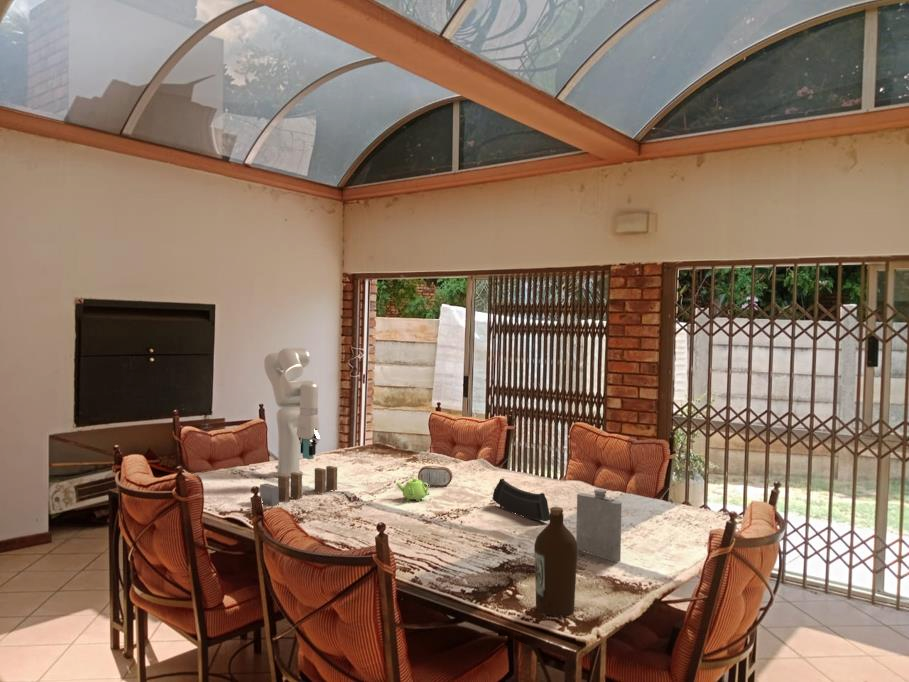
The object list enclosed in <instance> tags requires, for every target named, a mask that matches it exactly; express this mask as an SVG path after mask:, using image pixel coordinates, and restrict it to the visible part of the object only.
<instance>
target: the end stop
mask: <svg viewBox="0 0 909 682" xmlns="http://www.w3.org/2000/svg"><path fill="white" fill-rule="evenodd" d="M260 497H261V498H262V501H263V503H264V505H266V504H268V506H270V505H272V506H271V507H274V506H279V504H280V502H279V501H280V500H279V487H278V485H274V484H271V483H267V482H266V483H261V484H260V485H259V498H260ZM263 503H262V504H263ZM277 504H278V505H277Z"/></svg>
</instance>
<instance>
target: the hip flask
mask: <svg viewBox="0 0 909 682" xmlns="http://www.w3.org/2000/svg"><path fill="white" fill-rule="evenodd" d="M593 492H594V494H590V493H584V492H579V493H577V494H576V531H575V532H576V536H575V539H576V542H577V546H578V550H581V551H580V552H582V551H585V552H584V553H586V552H589V553H588V554H590V553H592V554H591V555H594V554H595V555H594V556H597V555H598V556H597V557H600V556H601V557H600V558H603V557H604V558H603V559H606V558H607V559H606V560H608V559H609V561H610V560H612V561H611V562H614V561H619V562H621V556H622V555H621V554H622V553H621V551H622V550H621V549H622V547H621V546H622V543H621V542H622V541H621V540H622V501H620V500H616V499H614V498H611V497H608V496H607V495H606V494H607V490H606V489H603V488H596V489H595V488H594V491H593Z"/></svg>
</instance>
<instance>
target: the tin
mask: <svg viewBox="0 0 909 682" xmlns="http://www.w3.org/2000/svg"><path fill="white" fill-rule="evenodd" d="M418 479H419V480H421V481H422V483H427V484H428V485H431V486H430V487H447V486H448V485H450V483H451V482H452V480H453V473H452V470H451V469H449V468H448V467H447V466H433V465H425V466H422V467H420V469H419V471H418V473H417V480H418ZM425 485H426V484H424V486H425Z"/></svg>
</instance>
